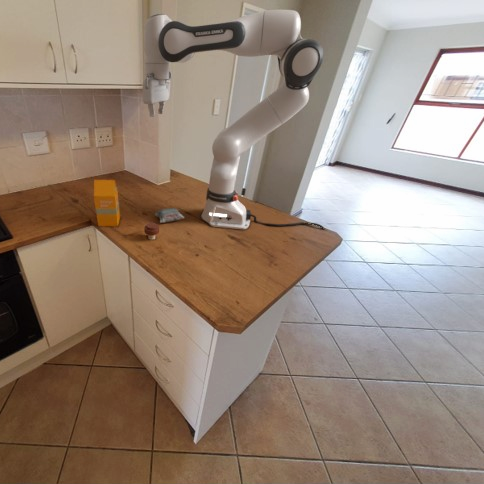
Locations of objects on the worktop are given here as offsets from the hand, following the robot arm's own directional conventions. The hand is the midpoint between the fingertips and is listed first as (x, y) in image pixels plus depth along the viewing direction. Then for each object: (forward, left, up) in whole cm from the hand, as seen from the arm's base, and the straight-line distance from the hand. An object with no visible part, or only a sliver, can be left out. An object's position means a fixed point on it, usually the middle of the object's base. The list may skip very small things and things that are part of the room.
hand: (156, 115), depth 100 cm
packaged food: (-9, +7, -43) cm, 44 cm away
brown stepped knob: (-7, +24, -43) cm, 49 cm away
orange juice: (+16, +19, -43) cm, 49 cm away
